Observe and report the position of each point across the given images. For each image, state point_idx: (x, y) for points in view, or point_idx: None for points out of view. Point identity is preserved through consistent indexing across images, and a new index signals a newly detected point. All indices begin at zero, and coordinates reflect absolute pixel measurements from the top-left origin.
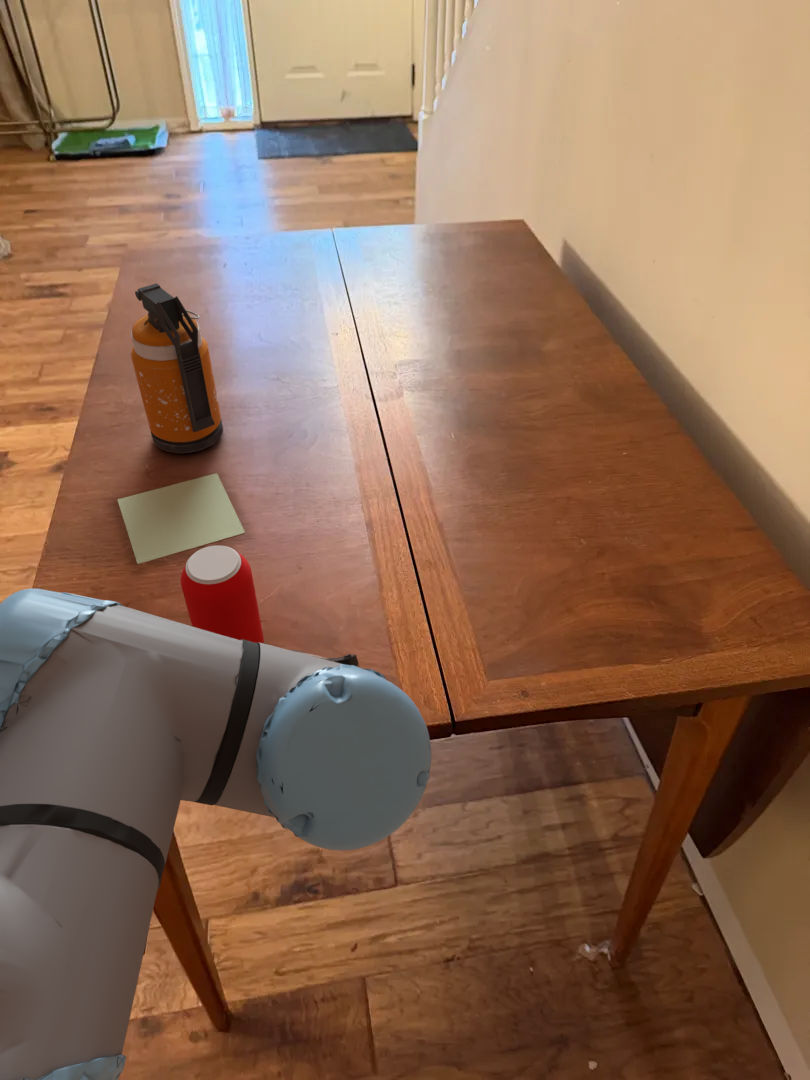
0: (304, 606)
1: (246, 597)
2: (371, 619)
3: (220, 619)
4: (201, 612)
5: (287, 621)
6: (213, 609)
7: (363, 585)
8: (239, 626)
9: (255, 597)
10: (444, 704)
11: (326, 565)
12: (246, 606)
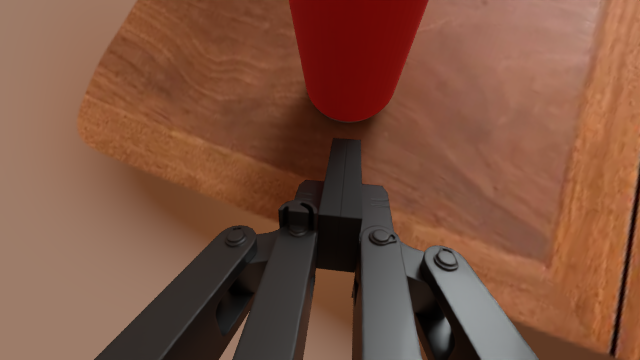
0: (465, 63)
1: (405, 13)
2: (552, 126)
3: (333, 44)
4: (301, 12)
5: (434, 76)
6: (323, 14)
7: (563, 65)
8: (364, 70)
9: (419, 22)
10: (607, 328)
11: (522, 12)
12: (395, 35)
